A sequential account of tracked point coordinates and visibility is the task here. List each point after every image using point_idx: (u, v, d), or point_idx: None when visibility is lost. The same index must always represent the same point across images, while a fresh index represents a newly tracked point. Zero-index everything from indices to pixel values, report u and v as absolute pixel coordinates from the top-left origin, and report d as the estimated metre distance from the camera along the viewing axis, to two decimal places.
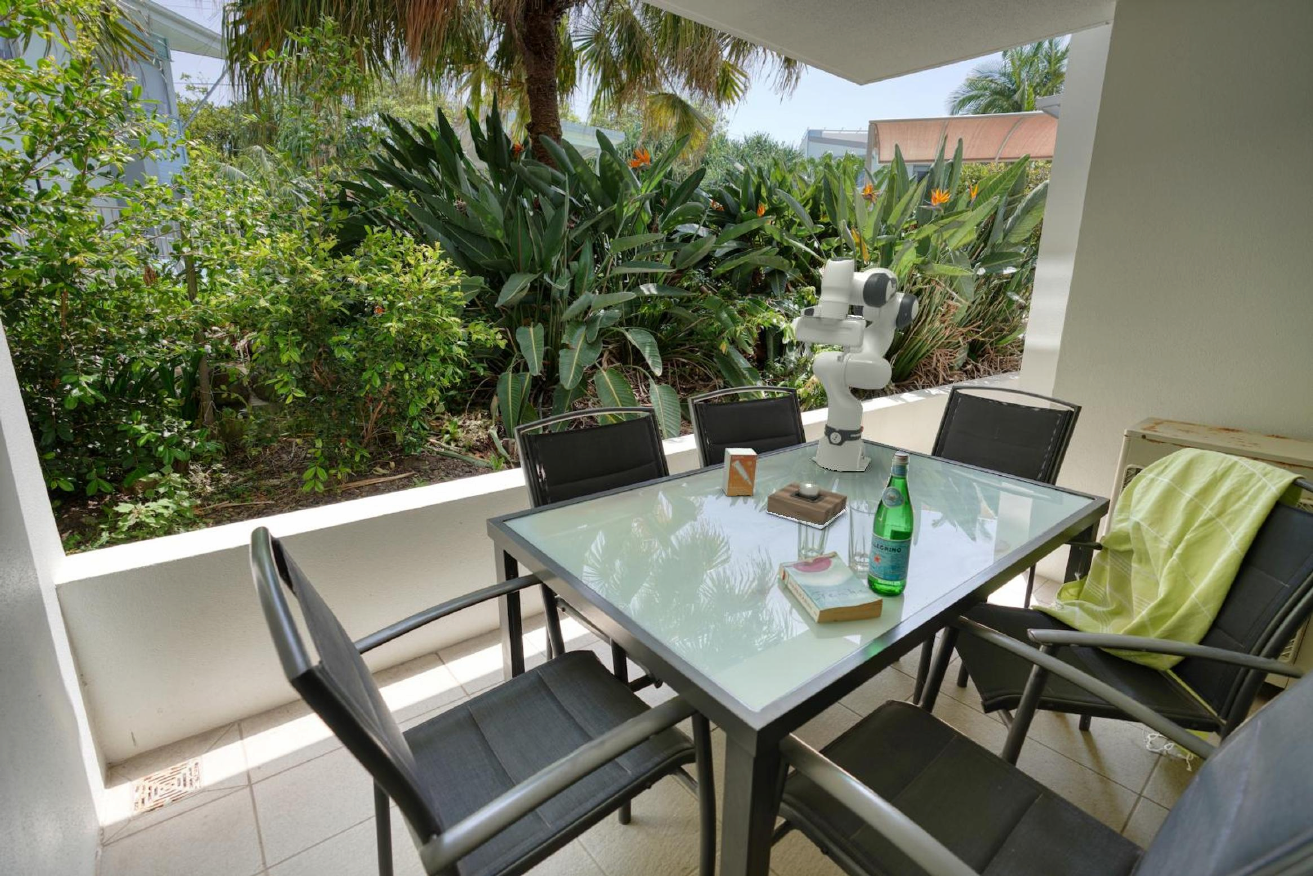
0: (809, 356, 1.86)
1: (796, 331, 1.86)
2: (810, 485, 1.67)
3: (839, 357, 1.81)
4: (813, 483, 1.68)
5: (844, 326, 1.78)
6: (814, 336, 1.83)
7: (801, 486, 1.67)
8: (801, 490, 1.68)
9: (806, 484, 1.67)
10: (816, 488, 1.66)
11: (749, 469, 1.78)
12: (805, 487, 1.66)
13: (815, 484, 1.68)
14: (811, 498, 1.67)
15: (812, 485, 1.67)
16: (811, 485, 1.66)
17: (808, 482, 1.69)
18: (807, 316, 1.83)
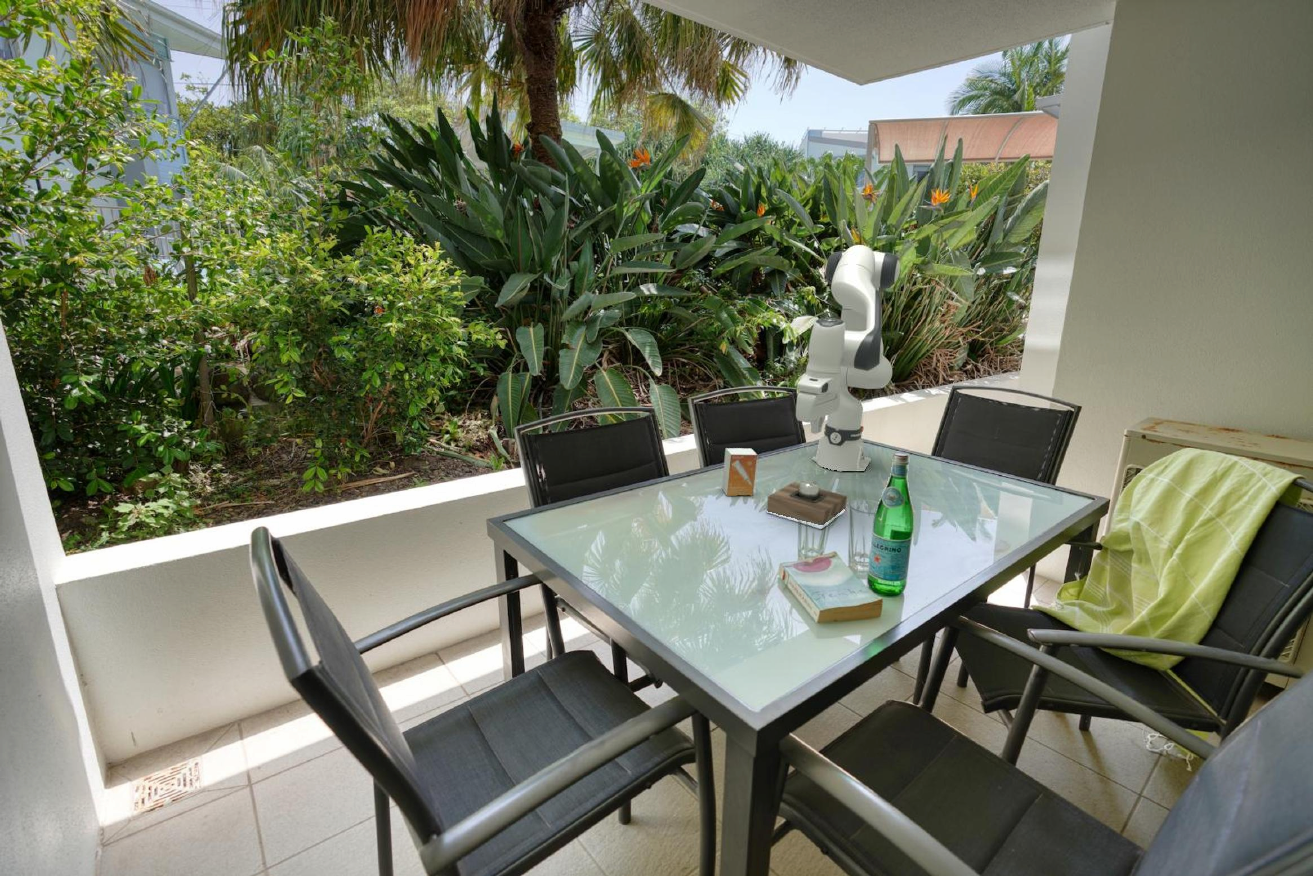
0: (818, 432, 1.63)
1: (811, 412, 1.54)
2: (810, 485, 1.67)
3: (820, 428, 1.64)
4: (813, 483, 1.68)
5: (834, 393, 1.64)
6: (819, 412, 1.59)
7: (801, 486, 1.67)
8: (801, 490, 1.68)
9: (806, 484, 1.67)
10: (816, 488, 1.66)
11: (749, 469, 1.78)
12: (805, 487, 1.66)
13: (815, 484, 1.68)
14: (811, 498, 1.67)
15: (812, 485, 1.67)
16: (811, 485, 1.66)
17: (808, 482, 1.69)
18: (822, 393, 1.54)
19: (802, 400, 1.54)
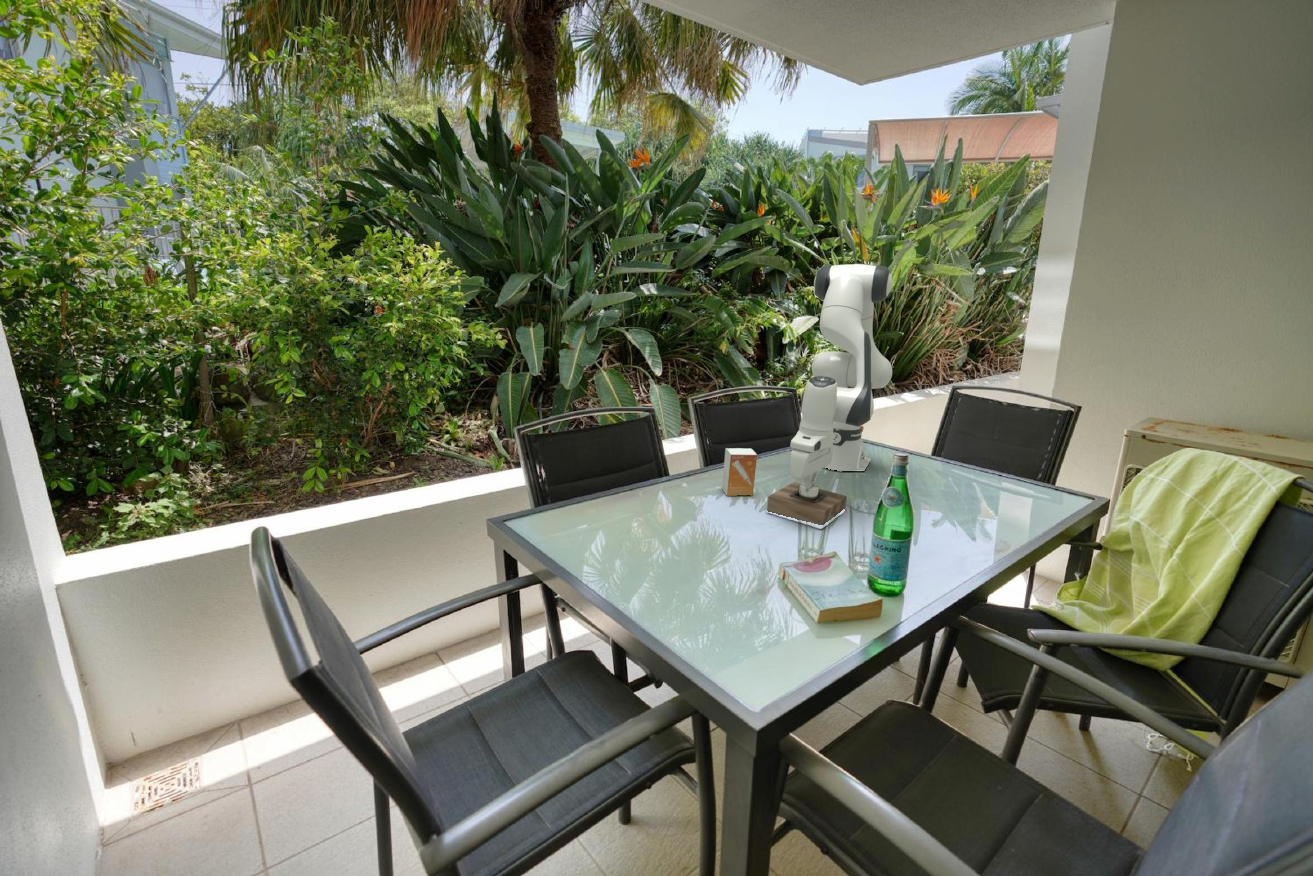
0: (811, 486, 1.67)
1: (804, 470, 1.58)
2: (810, 488, 1.67)
3: (813, 482, 1.68)
4: (813, 486, 1.69)
5: (827, 448, 1.68)
6: (812, 468, 1.63)
7: (801, 489, 1.68)
8: (801, 493, 1.68)
9: None
10: (816, 491, 1.66)
11: (749, 469, 1.78)
12: (805, 490, 1.67)
13: (815, 487, 1.68)
14: None
15: (812, 488, 1.67)
16: (811, 488, 1.67)
17: None
18: (815, 451, 1.58)
19: (795, 458, 1.58)
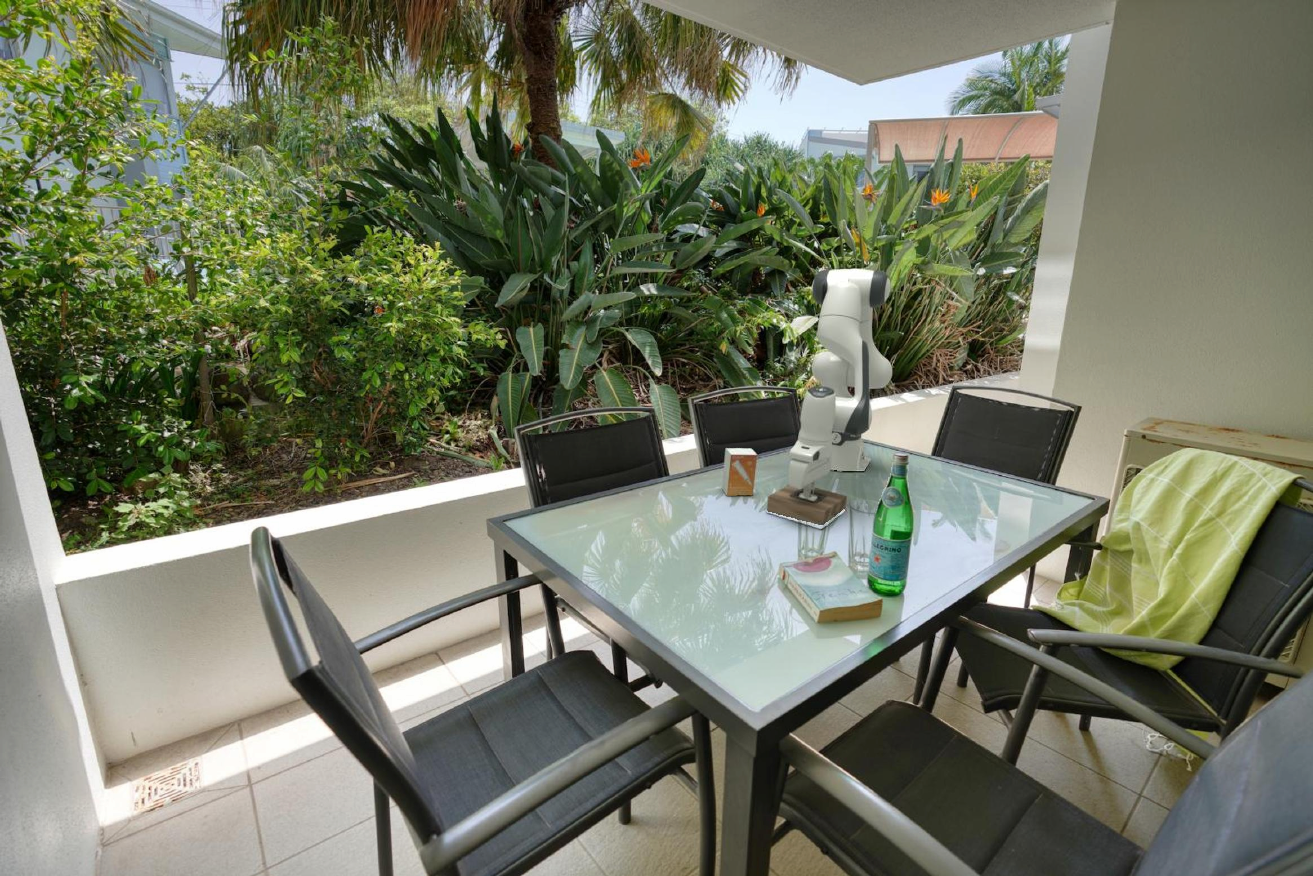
0: (810, 495, 1.68)
1: (803, 480, 1.59)
2: (808, 497, 1.67)
3: (812, 491, 1.69)
4: (812, 495, 1.69)
5: (825, 457, 1.69)
6: (811, 478, 1.63)
7: None
8: None
9: None
10: (814, 500, 1.67)
11: (749, 469, 1.78)
12: None
13: (813, 496, 1.69)
14: None
15: (810, 497, 1.68)
16: (809, 498, 1.67)
17: None
18: (814, 461, 1.59)
19: (794, 468, 1.59)
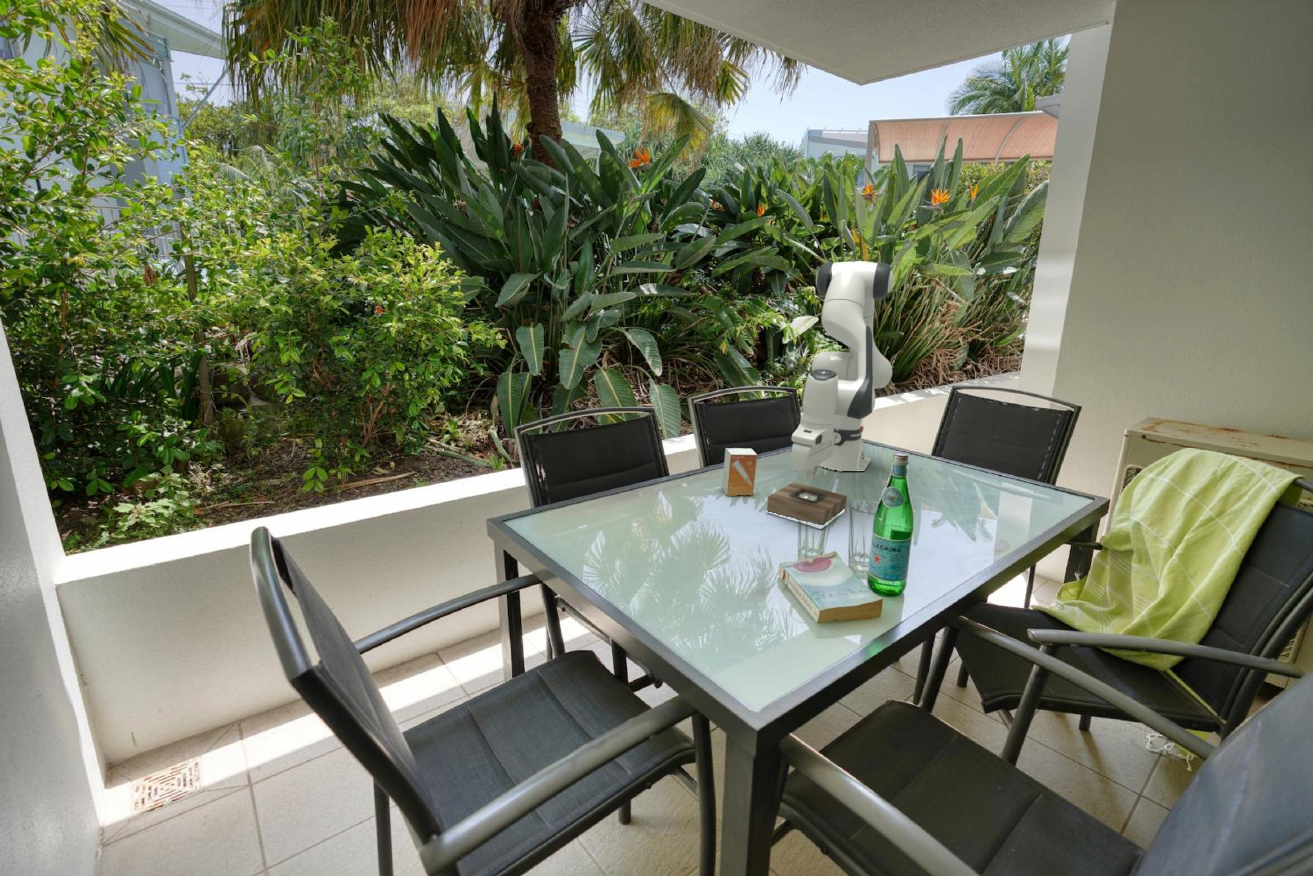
0: (812, 479, 1.67)
1: (806, 464, 1.58)
2: (808, 498, 1.67)
3: (815, 475, 1.68)
4: (811, 495, 1.69)
5: (828, 441, 1.68)
6: (814, 461, 1.63)
7: None
8: None
9: (805, 496, 1.68)
10: (814, 500, 1.67)
11: (749, 469, 1.78)
12: None
13: (813, 496, 1.69)
14: None
15: (810, 497, 1.68)
16: (809, 498, 1.67)
17: (807, 494, 1.70)
18: (816, 444, 1.58)
19: (797, 451, 1.58)
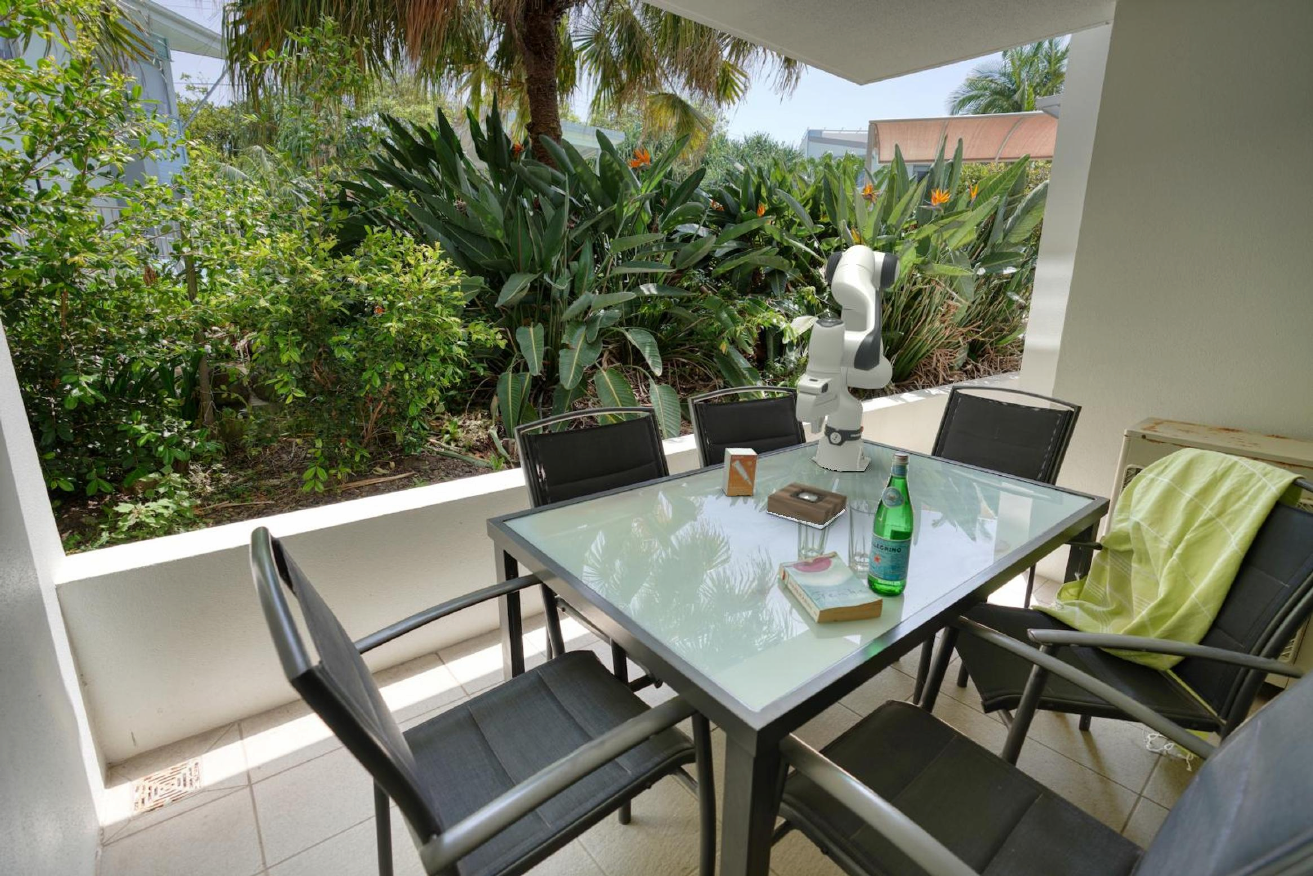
0: (818, 432, 1.63)
1: (811, 413, 1.54)
2: (808, 498, 1.67)
3: (820, 428, 1.64)
4: (811, 495, 1.69)
5: (834, 393, 1.64)
6: (819, 412, 1.59)
7: None
8: None
9: (805, 496, 1.68)
10: (814, 500, 1.67)
11: (749, 469, 1.78)
12: None
13: (813, 496, 1.69)
14: None
15: (810, 497, 1.68)
16: (809, 498, 1.67)
17: (807, 494, 1.70)
18: (822, 393, 1.54)
19: (802, 400, 1.55)
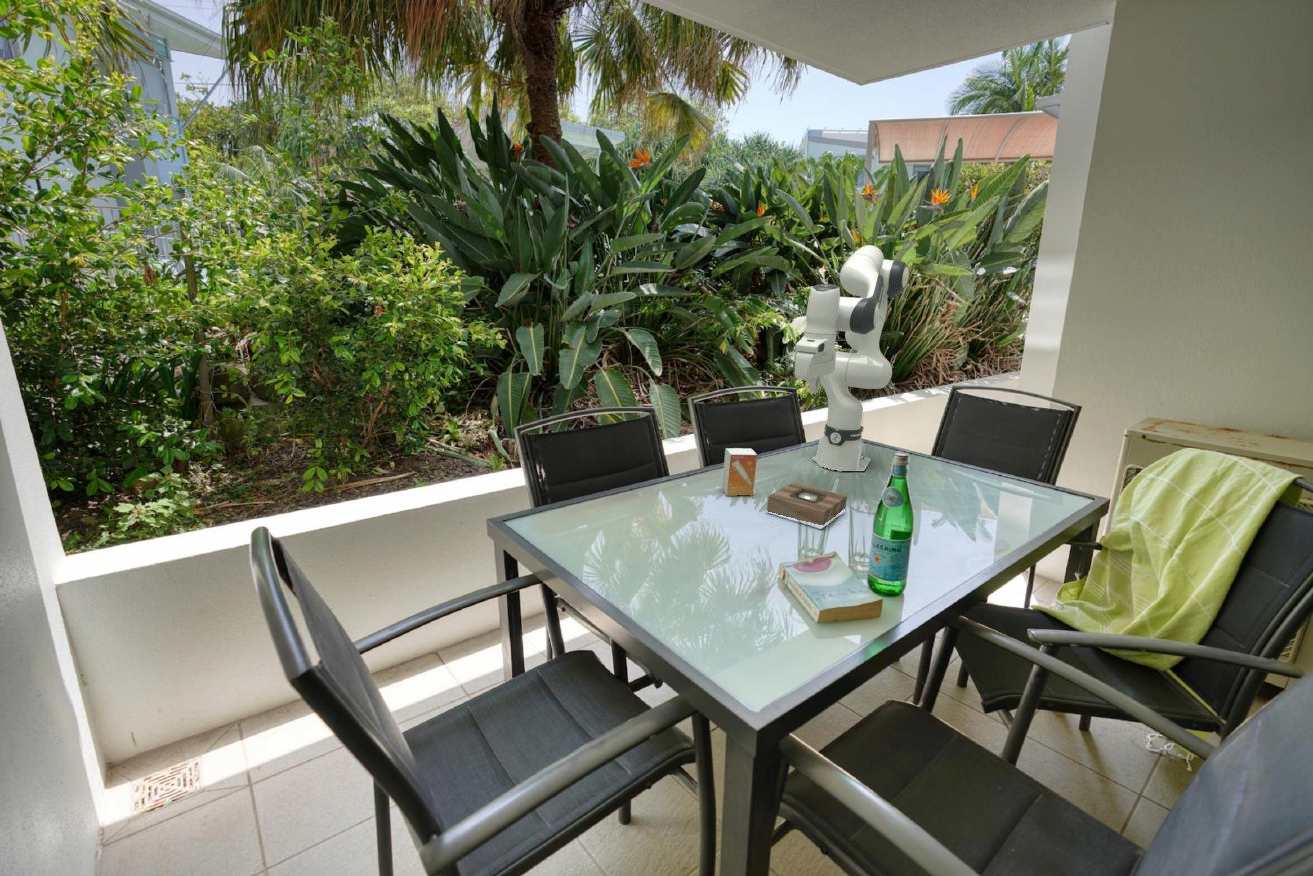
0: (815, 390, 1.76)
1: (809, 370, 1.67)
2: (808, 498, 1.67)
3: (817, 387, 1.77)
4: (811, 495, 1.69)
5: (830, 355, 1.77)
6: (816, 371, 1.72)
7: None
8: None
9: (805, 496, 1.68)
10: (814, 500, 1.67)
11: (749, 469, 1.78)
12: None
13: (813, 496, 1.69)
14: None
15: (810, 497, 1.68)
16: (809, 498, 1.67)
17: (807, 494, 1.70)
18: (819, 352, 1.67)
19: (800, 359, 1.67)
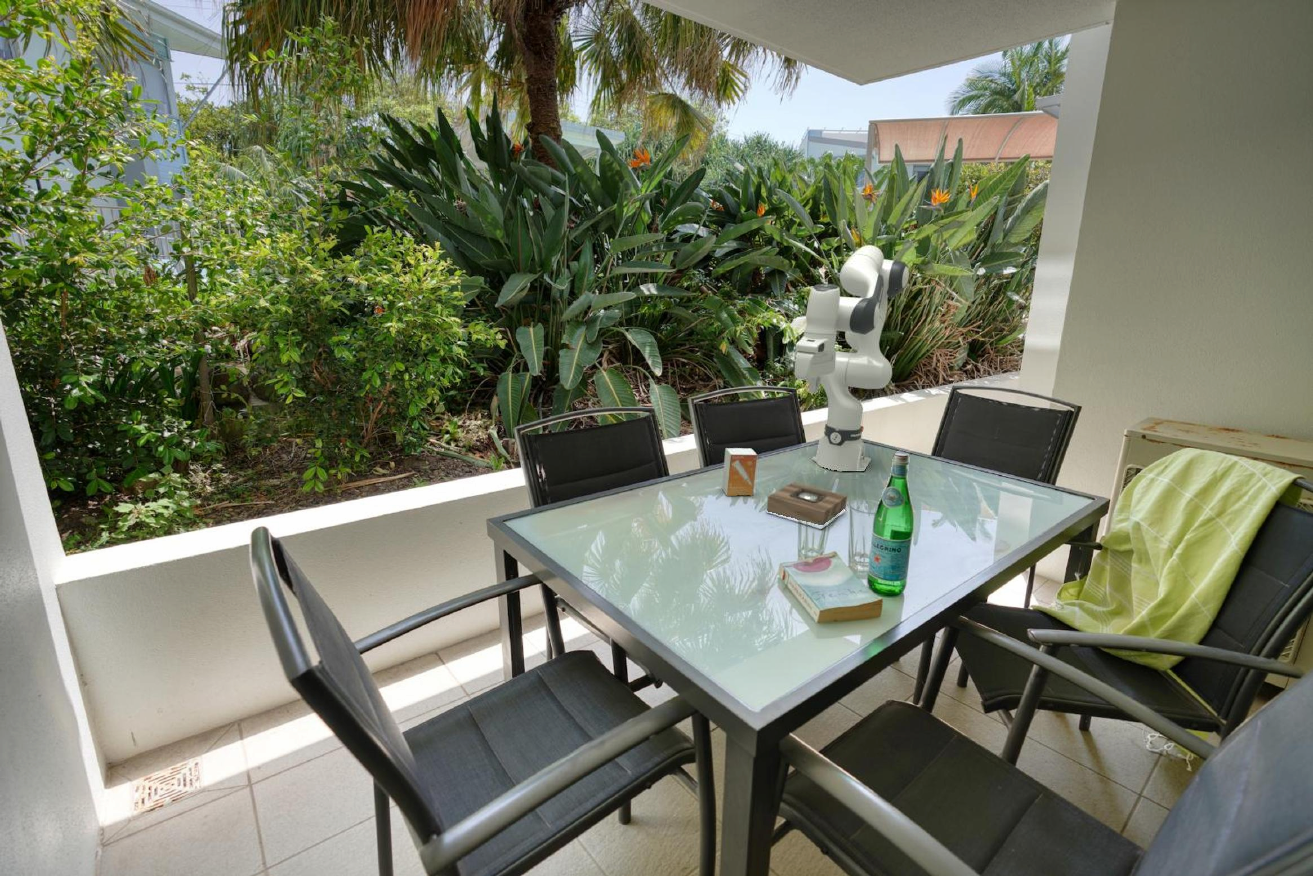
0: (815, 390, 1.76)
1: (809, 370, 1.67)
2: (808, 498, 1.67)
3: (817, 387, 1.77)
4: (811, 495, 1.69)
5: (830, 355, 1.77)
6: (816, 371, 1.72)
7: None
8: None
9: (805, 496, 1.68)
10: (814, 500, 1.67)
11: (749, 469, 1.78)
12: None
13: (813, 496, 1.69)
14: None
15: (810, 497, 1.68)
16: (809, 498, 1.67)
17: (807, 494, 1.70)
18: (819, 352, 1.67)
19: (800, 359, 1.67)
